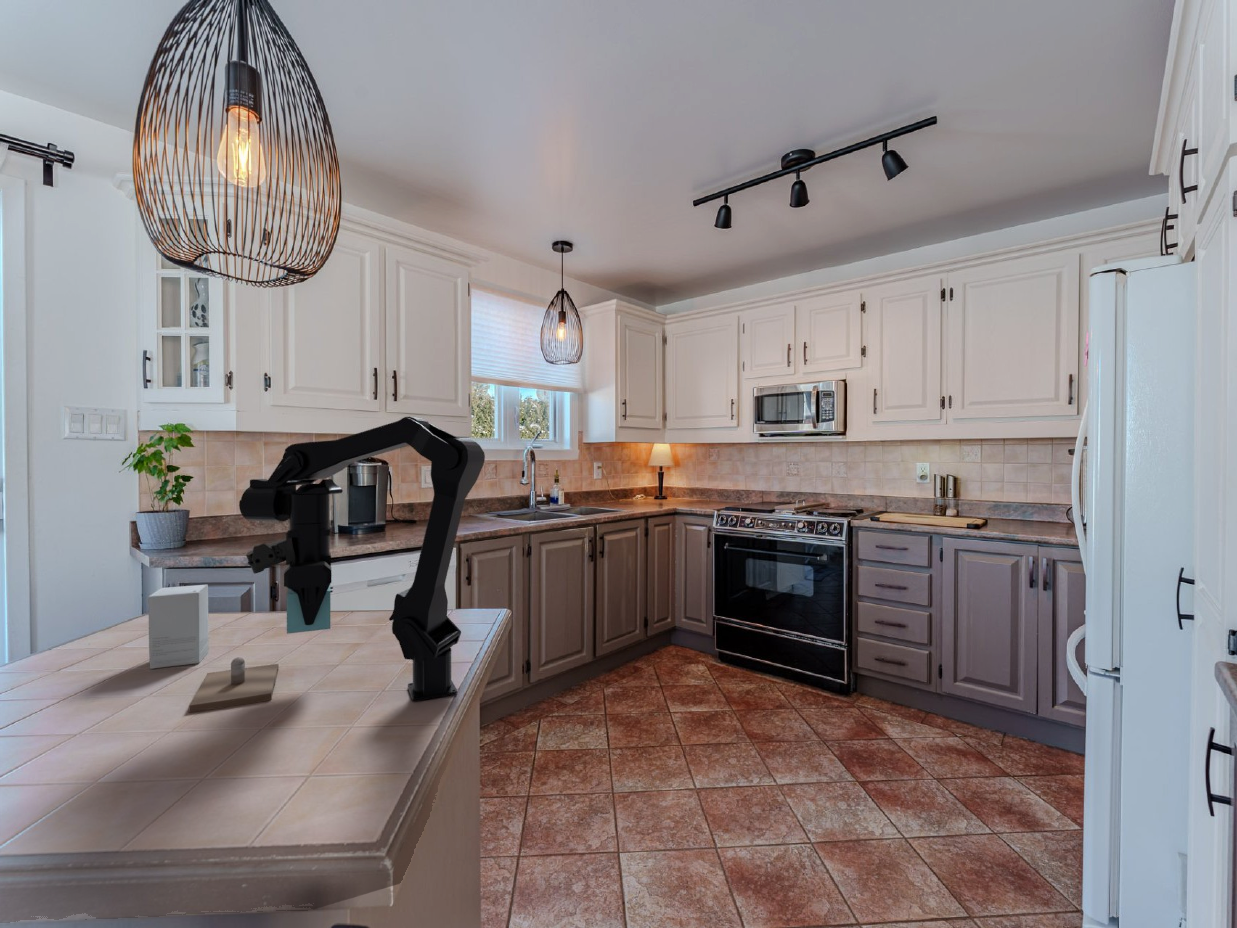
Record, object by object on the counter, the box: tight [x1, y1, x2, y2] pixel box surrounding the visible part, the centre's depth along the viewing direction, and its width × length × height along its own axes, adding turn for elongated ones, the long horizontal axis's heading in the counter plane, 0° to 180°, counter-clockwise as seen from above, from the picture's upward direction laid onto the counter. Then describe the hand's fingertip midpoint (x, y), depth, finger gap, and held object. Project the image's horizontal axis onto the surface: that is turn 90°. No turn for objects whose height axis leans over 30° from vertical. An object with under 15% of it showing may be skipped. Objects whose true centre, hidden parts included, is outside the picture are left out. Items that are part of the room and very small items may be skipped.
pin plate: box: [188, 657, 279, 713], centre depth 91 cm, size 14×10×5 cm
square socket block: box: [286, 584, 331, 635], centre depth 94 cm, size 6×6×6 cm
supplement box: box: [147, 584, 210, 670], centre depth 104 cm, size 7×7×13 cm
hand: (309, 619), depth 94 cm, fingers closed on square socket block, 6 cm apart
